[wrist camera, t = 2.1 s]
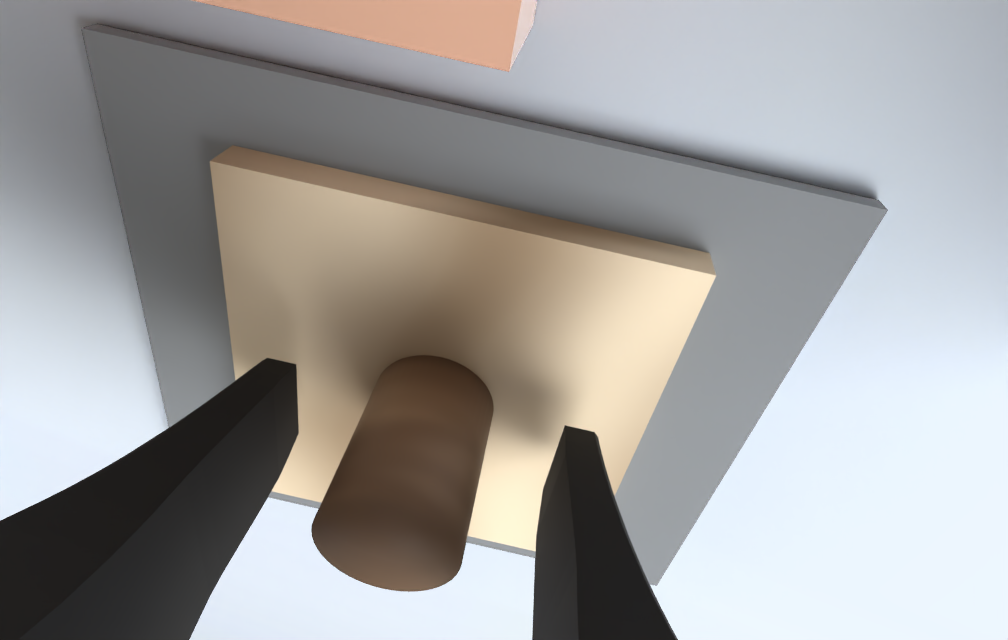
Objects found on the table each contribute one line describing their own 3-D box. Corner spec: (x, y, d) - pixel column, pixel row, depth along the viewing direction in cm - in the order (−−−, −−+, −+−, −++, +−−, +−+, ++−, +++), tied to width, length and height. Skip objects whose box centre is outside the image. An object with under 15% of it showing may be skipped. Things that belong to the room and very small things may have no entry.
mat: (879, 200, 11) (887, 210, 10) (655, 573, 18) (656, 585, 17) (96, 23, 11) (81, 28, 10) (187, 466, 18) (179, 476, 17)
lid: (709, 253, 11) (758, 423, 8) (584, 535, 16) (579, 714, 13) (232, 145, 11) (59, 265, 8) (261, 462, 16) (167, 620, 13)
